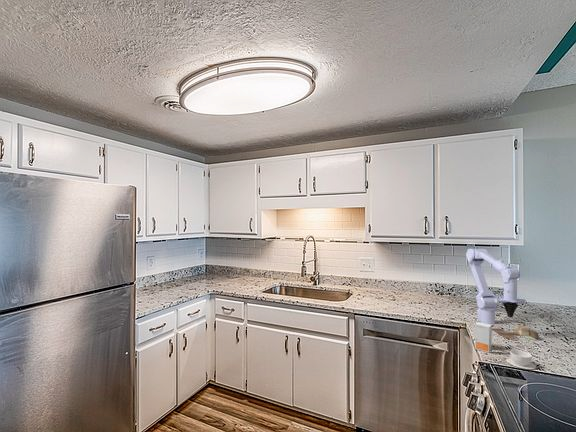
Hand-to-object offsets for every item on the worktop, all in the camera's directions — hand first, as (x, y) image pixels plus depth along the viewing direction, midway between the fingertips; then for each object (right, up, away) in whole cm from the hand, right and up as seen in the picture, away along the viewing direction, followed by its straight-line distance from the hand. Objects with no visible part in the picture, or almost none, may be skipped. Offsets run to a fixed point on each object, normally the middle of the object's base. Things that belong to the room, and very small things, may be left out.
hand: (510, 316), depth 163 cm
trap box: (-1, -9, -3) cm, 10 cm away
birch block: (+4, -8, -3) cm, 9 cm away
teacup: (-19, -10, -33) cm, 39 cm away
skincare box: (-26, -9, -19) cm, 34 cm away
